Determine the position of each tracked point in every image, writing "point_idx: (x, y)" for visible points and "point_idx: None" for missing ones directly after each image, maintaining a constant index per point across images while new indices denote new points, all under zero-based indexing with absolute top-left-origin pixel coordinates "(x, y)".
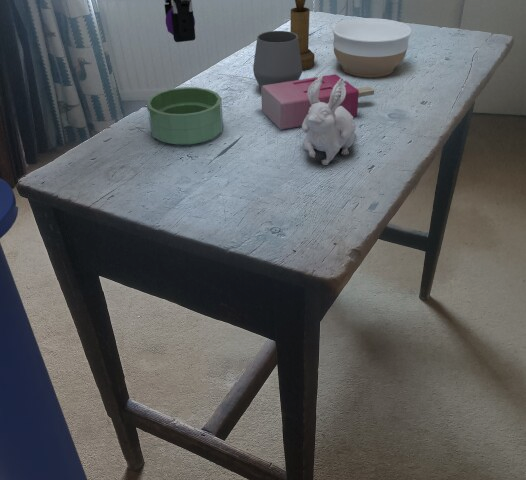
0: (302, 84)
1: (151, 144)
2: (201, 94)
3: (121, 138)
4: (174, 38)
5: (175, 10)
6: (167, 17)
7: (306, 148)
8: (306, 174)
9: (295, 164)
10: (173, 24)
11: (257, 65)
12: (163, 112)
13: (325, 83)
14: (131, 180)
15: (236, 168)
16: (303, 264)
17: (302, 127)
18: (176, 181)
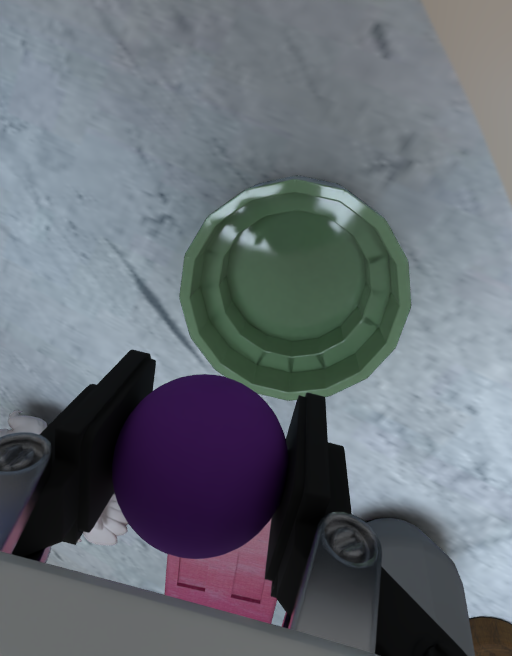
0: (258, 568)
1: (277, 158)
2: (343, 372)
3: (367, 88)
4: (127, 355)
5: None
6: (185, 415)
7: (20, 416)
8: (3, 376)
9: (45, 382)
10: (89, 393)
11: (406, 564)
12: (235, 207)
13: (228, 596)
14: (99, 21)
15: (68, 283)
16: None
17: None
18: (55, 135)
